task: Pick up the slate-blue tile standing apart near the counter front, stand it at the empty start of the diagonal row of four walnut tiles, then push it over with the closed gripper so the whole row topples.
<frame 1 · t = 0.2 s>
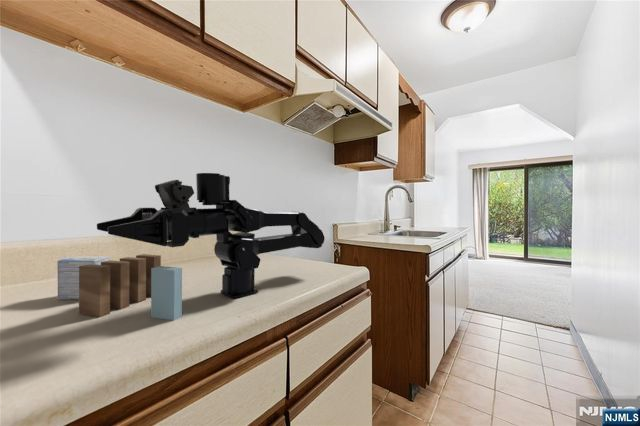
hand: (102, 228, 42), 16 cm above the worktop, tool horizontal, fingers open, 9 cm apart
tile 4: (115, 306, 52), on the worktop
medicine box: (84, 297, 58), on the worktop
tile 3: (132, 300, 56), on the worktop
tile 5: (94, 313, 48), on the worktop
tile 2: (148, 294, 60), on the worktop
tile 1: (166, 316, 48), on the worktop
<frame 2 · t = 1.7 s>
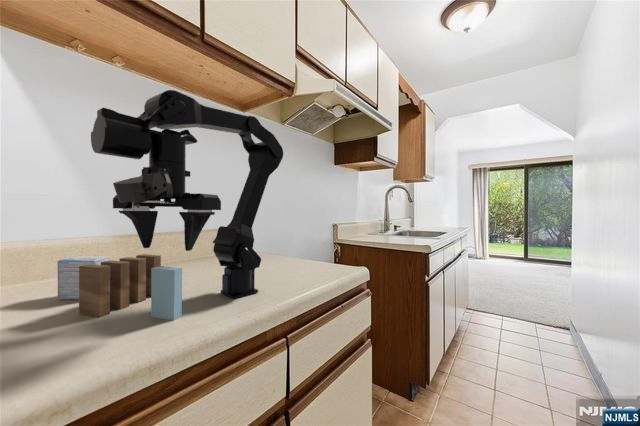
hand: (167, 249, 48), 12 cm above the worktop, tool pointing down, fingers open, 9 cm apart
nothing on the worktop moved.
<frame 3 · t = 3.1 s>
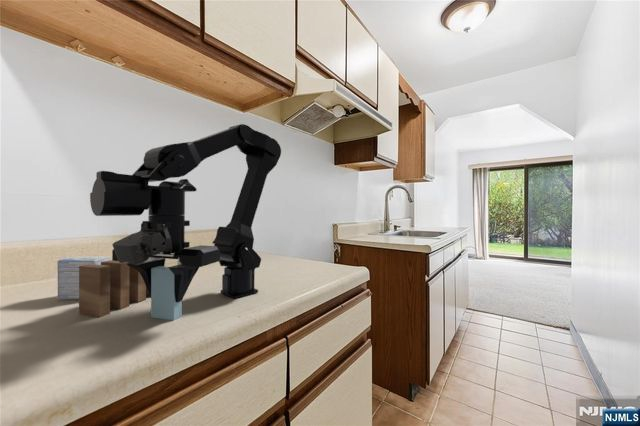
hand: (166, 300, 48), 3 cm above the worktop, tool pointing down, fingers closed on tile 1, 5 cm apart
tile 1: (166, 316, 48), on the worktop, touching gripper
everything else where it was.
when the fingers open (4 cm above the worktop, at t = 7.4 s): tile 1 drops 1 cm, on the worktop.
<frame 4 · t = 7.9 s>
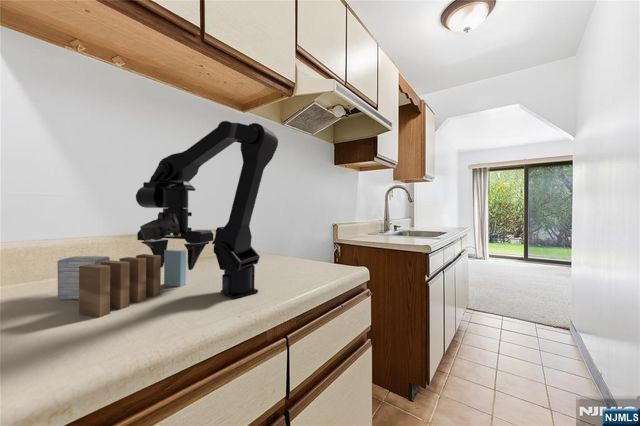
hand: (175, 268, 67), 4 cm above the worktop, tool pointing down, fingers open, 9 cm apart
tile 1: (175, 284, 67), on the worktop
everything else where it was.
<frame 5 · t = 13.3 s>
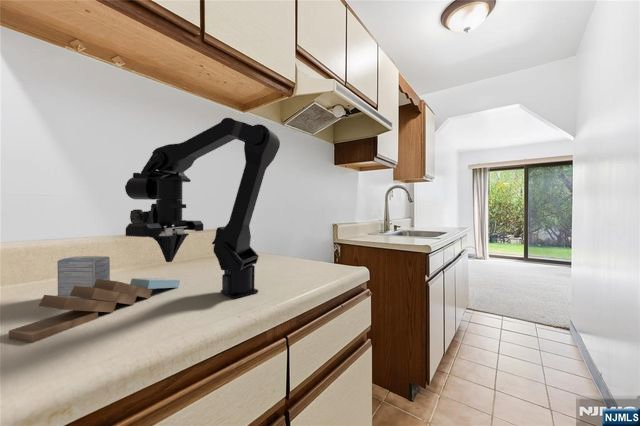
hand: (169, 261, 65), 6 cm above the worktop, tool pointing down, fingers closed
tile 4: (104, 305, 50), point 1 cm above the worktop, tilted 66°, touching tile 3
tile 3: (125, 299, 54), point 1 cm above the worktop, tilted 64°, touching tile 4
tile 5: (87, 315, 47), on the worktop, tilted 90°
tile 2: (141, 293, 58), point 1 cm above the worktop, tilted 63°, touching tile 1
tile 1: (171, 282, 66), point 1 cm above the worktop, tilted 76°, touching tile 2
everything else where it was.
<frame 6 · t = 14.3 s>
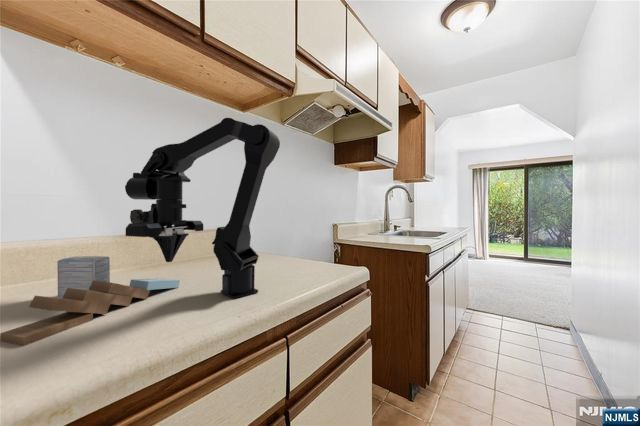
hand: (169, 261, 65), 6 cm above the worktop, tool pointing down, fingers closed
tile 4: (98, 307, 49), point 1 cm above the worktop, tilted 66°, touching tile 3
tile 3: (121, 300, 54), point 1 cm above the worktop, tilted 65°, touching tile 2, tile 4
tile 2: (139, 293, 57), point 1 cm above the worktop, tilted 64°, touching tile 1, tile 3
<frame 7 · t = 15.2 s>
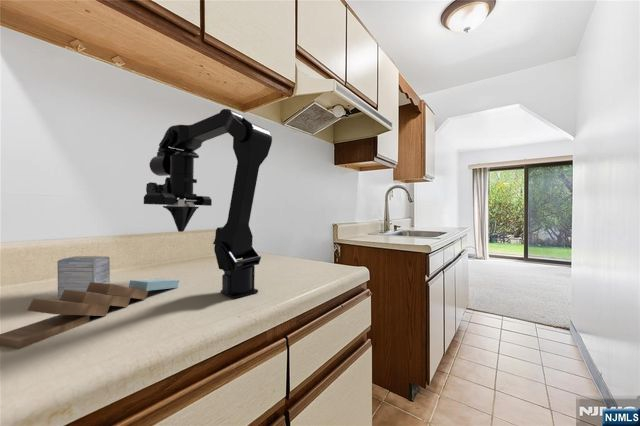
hand: (180, 231, 71), 13 cm above the worktop, tool pointing down, fingers closed
tile 4: (96, 309, 48), point 1 cm above the worktop, tilted 66°, touching tile 3, tile 5
tile 5: (78, 318, 46), on the worktop, tilted 90°, touching tile 4
tile 2: (137, 294, 57), point 1 cm above the worktop, tilted 65°, touching tile 1, tile 3
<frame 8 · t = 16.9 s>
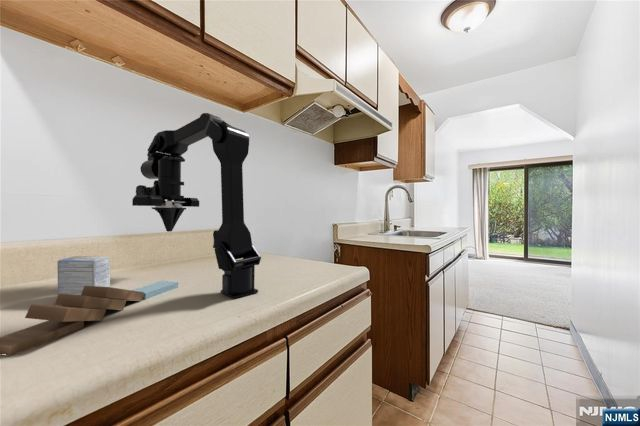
hand: (169, 231, 76), 13 cm above the worktop, tool pointing down, fingers closed
tile 4: (89, 313, 46), point 1 cm above the worktop, tilted 68°, touching tile 5
tile 3: (113, 303, 51), point 1 cm above the worktop, tilted 66°, touching tile 2
tile 5: (71, 323, 44), on the worktop, tilted 90°, touching tile 4
tile 2: (132, 296, 56), point 1 cm above the worktop, tilted 66°, touching tile 3
tile 1: (170, 284, 66), on the worktop, tilted 90°
everything else where it was.
at the end: tile 5 tilted 90°; tile 1 tilted 90° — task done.
